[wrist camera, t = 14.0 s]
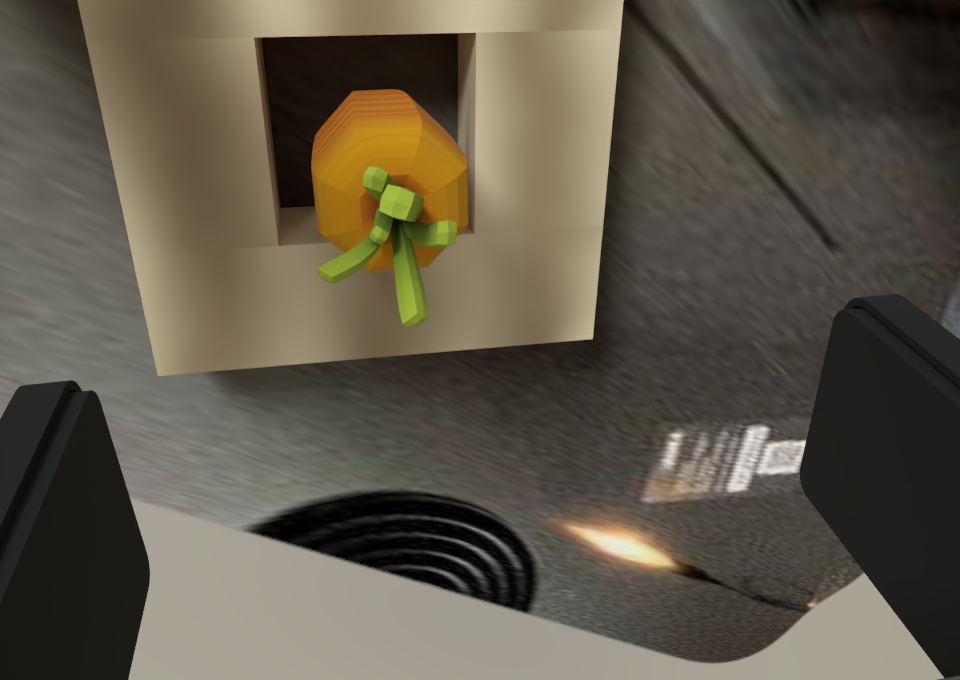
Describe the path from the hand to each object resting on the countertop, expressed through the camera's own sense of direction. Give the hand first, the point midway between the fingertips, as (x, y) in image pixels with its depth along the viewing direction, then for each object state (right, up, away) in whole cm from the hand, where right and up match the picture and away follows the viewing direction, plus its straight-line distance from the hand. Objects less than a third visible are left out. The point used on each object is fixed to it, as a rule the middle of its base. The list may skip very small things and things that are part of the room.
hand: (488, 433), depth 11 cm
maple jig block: (-5, +10, +23) cm, 26 cm away
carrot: (-5, +10, +23) cm, 26 cm away
